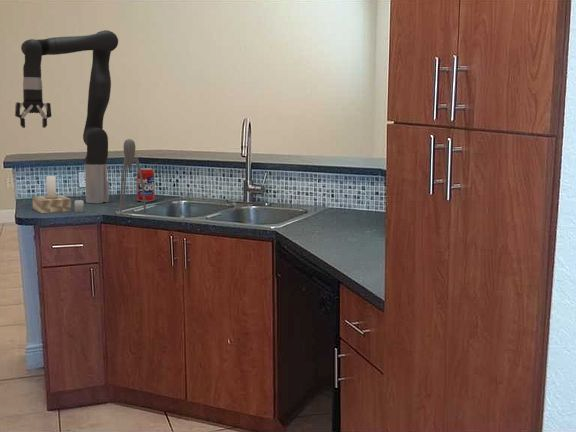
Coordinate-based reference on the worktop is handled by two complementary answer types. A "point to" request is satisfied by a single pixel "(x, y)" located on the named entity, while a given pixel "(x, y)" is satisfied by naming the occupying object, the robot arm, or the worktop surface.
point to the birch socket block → (51, 204)
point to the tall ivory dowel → (51, 187)
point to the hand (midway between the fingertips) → (33, 127)
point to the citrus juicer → (128, 160)
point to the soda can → (146, 185)
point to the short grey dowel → (79, 206)
